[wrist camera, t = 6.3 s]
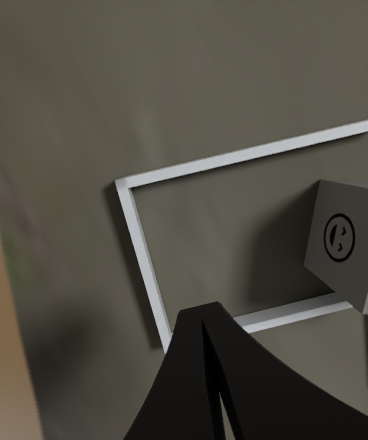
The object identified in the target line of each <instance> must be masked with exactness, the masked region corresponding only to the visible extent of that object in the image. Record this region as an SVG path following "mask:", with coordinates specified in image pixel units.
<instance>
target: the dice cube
mask: <svg viewBox="0 0 368 440" xmlns="http://www.w3.org/2000/svg"><path fill="white" fill-rule="evenodd" d="M304 266H305V267H306V268H307V269H308V270H310V271H311V272H312V273H313V274H314V275H316V276H317V277H318V278H319V279H320V280H322V281H323V282H324V283H325V284H326V285H328V286H329V287H330V288H331V289H333V290H334V291H335V292H336V293H337V294H339V295H340V296H341V297H342V298H343V299H345V300H346V301H347V302H348V303H349V304H351V305H352V306H353V307H354V308H355V309H357V310H358V311H359V312H360V313H362V314H368V182H355V181H340V180H326V179H320V182H319V187H318V192H317V198H316V203H315V208H314V213H313V219H312V224H311V229H310V234H309V240H308V245H307V250H306V255H305V261H304Z"/></svg>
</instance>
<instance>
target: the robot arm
mask: <svg viewBox="0 0 368 440" xmlns="http://www.w3.org/2000/svg"><path fill="white" fill-rule="evenodd" d="M219 392H220V395H221V398H222V401H223V404H224V407H225V410H226V413H227V416H228V419H229V422H230V425H231V428H232V431H233V434H234V437H235V440H368V416H367V415H365V414H363V413H361V412H360V411H358V410H356V409H354V408H353V407H351V406H349V405H347V404H345V403H344V402H342V401H340V400H338V399H337V398H335V397H333V396H332V395H330V394H329V393H327V392H325V391H324V390H322V389H321V388H319V387H318V386H316V385H314V384H313V383H311V382H310V381H308V380H307V379H305V378H304V377H303V376H301V375H300V374H298V373H297V372H295V371H294V370H293V369H291V368H290V367H288V366H287V365H286V364H284V363H283V362H282V361H280V360H279V359H278V358H277V357H275V356H274V355H273V354H272V353H270V352H269V351H268V350H267V349H265V348H264V347H263V346H262V345H261V344H260V343H258V342H257V341H256V340H255V339H254V338H253V337H252V336H251V335H250V334H249V333H248V332H246V331H245V330H244V329H243V328H242V327H241V326H240V325H239V324H238V323H237V322H236V321H235V320H234V319H233V318H232V316H231V315H230V314H229V313H228V312H227V311H226V310H225V308H224V307H223V306H222V304H221V303H219V302H218V301H217V302H212V303H208V304H204V305H200V306H196V307H192V308H188V309H184V310H180V312H179V313H178V315H177V320H176V324H175V328H174V331H173V335H172V338H171V341H170V344H169V346H168V349H167V352H166V355H165V357H164V360H163V362H162V365H161V367H160V369H159V372H158V374H157V376H156V379H155V381H154V383H153V385H152V388H151V390H150V392H149V394H148V396H147V398H146V400H145V402H144V404H143V406H142V407H141V409H140V411H139V413H138V415H137V417H136V418H135V420H134V422H133V424H132V426H131V427H130V429H129V431H128V432H127V434H126V436H125V437H124V439H123V440H226V437H225V430H224V423H223V416H222V409H221V402H220V395H219Z"/></svg>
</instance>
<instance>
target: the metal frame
mask: <svg viewBox="0 0 368 440" xmlns="http://www.w3.org/2000/svg"><path fill="white" fill-rule="evenodd" d="M367 131H368V119H366V120H362V121H357V122H353V123H349V124H345V125H341V126H336V127H332V128H328V129H324V130H319V131H315V132H311V133H307V134H303V135H298V136H294V137H290V138H286V139H281V140H277V141H273V142H269V143H264V144H260V145H256V146H252V147H248V148H243V149H239V150H235V151H231V152H226V153H222V154H218V155H214V156H210V157H205V158H201V159H197V160H193V161H188V162H184V163H180V164H176V165H172V166H167V167H163V168H159V169H155V170H150V171H146V172H142V173H138V174H134V175H129V176H125V177H121V178H117V179H116V180H114V181H115V184H116V187H117V191H118V194H119V198H120V201H121V204H122V208H123V211H124V215H125V218H126V222H127V225H128V228H129V232H130V235H131V239H132V242H133V245H134V249H135V252H136V256H137V259H138V262H139V266H140V269H141V273H142V276H143V280H144V283H145V286H146V290H147V293H148V297H149V300H150V303H151V307H152V310H153V314H154V317H155V321H156V324H157V327H158V331H159V334H160V338H161V341H162V344H163V348H164V351H165V354H166V352H167V349H168V346H169V344H170V341H171V338H172V335H173V333H171V330H170V327H169V323H168V320H167V316H166V312H165V309H164V305H163V302H162V298H161V294H160V291H159V287H158V284H157V280H156V277H155V273H154V269H153V266H152V262H151V259H150V255H149V252H148V248H147V244H146V241H145V237H144V234H143V230H142V226H141V223H140V219H139V216H138V212H137V209H136V205H135V201H134V198H133V194H132V191H131V187H135V186H139V185H144V184H148V183H152V182H156V181H160V180H165V179H169V178H173V177H177V176H181V175H186V174H190V173H194V172H198V171H203V170H207V169H211V168H215V167H219V166H224V165H228V164H232V163H236V162H240V161H245V160H249V159H253V158H257V157H261V156H266V155H270V154H274V153H278V152H283V151H287V150H291V149H295V148H299V147H304V146H308V145H312V144H316V143H320V142H325V141H329V140H333V139H337V138H342V137H346V136H350V135H354V134H358V133H363V132H367ZM352 307H353V306H352V305H351V304H349V303H348V302H347V301H346V300H345V299H343V298H342V297H341V296H340V295H339V294H337V293H336V292H335V293H331V294H327V295H323V296H319V297H315V298H310V299H306V300H302V301H298V302H294V303H290V304H286V305H282V306H278V307H274V308H270V309H266V310H262V311H258V312H254V313H250V314H246V315H241V316H237V317H233V319H234V320H235V321H236V322H237V323H238V324H239V325H240V326H241V327H242V328H243V329H244V330H245V331H246V332H248V333H251V332H255V331H259V330H263V329H267V328H271V327H275V326H279V325H283V324H287V323H291V322H295V321H299V320H303V319H307V318H311V317H315V316H319V315H323V314H328V313H332V312H336V311H340V310H344V309H348V308H352Z"/></svg>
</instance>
